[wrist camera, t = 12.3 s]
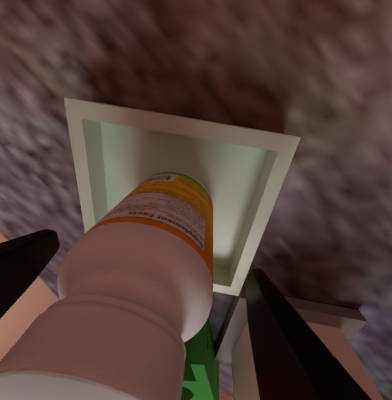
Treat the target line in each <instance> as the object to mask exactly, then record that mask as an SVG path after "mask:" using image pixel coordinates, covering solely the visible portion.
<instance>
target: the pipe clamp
mask: <svg viewBox="0 0 392 400" xmlns="http://www.w3.org/2000/svg"><path fill="white" fill-rule="evenodd" d="M184 344H185V348H186V358H185V362H184V364H185V365H184V376H183V385H182V394H181V400H219V365H218V361H217V360H215V347H214V343H213V339H212V334H211V330H210V325H209V321H208V319H207V320H206V322H205V324H204V325H203V327H202V328H201V329H200V330H199V331H198V332H197V333H196V334H195V335H194V336H193V337H192V338H191V339H189V340H188V341H186V342H184Z"/></svg>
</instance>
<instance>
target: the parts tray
mask: <svg viewBox="0 0 392 400" xmlns="http://www.w3.org/2000/svg"><path fill="white" fill-rule="evenodd" d="M64 102H65V109H66V115H67V121H68V128H69V134H70V140H71V147H72V153H73V159H74V165H75V172H76V178H77V184H78V191H79V197H80V203H81V210H82V216H83V222H84V228H85V233H86V232H87V231H88V230H90V229H91V228H92V227H93V226H94V225H95V224H96V223H97V222H99V221H100V220H101V219H102V218H103V217H104V216H105V215H106V214H107V213H109V212H110V211H111V210H112V209H113V208H114V207H115V206H116V205H117V204H119V203H120V202H121V201H122V200H123V199H124V198H125V197H126V196H127V195H128V194H129V193H131V192H132V191H133V190H134V189H135V188H136V187H137V186H138V185H139V184H141V183H142V182H143V181H144V180H145V179H147V178H148V177H150V176H151V175H153V174H155V173H158V172H161V171H180V172H184V173H187V174H189V175H191V176H193V177H194V178H196V179H197V180H199V181H200V182H201V183H202V184H203V185H204V187H205V188H206V189H207V191H208V192H209V194H210V197H211V199H212V203H213V291H214V292H220V293H225V294H230V295H235V296H239V293H240V291H241V288H242V286H243V283H244V281H245V278H246V276H247V273H248V271H249V268H250V265H251V263H252V260H253V258H254V255H255V253H256V250H257V248H258V245H259V243H260V240H261V237H262V235H263V232H264V230H265V227H266V225H267V222H268V220H269V217H270V215H271V212H272V209H273V207H274V204H275V202H276V199H277V197H278V194H279V192H280V189H281V187H282V184H283V181H284V179H285V176H286V174H287V171H288V169H289V166H290V164H291V161H292V159H293V156H294V153H295V151H296V148H297V146H298V143H299V141H300V137H296V136H292V135H288V134H284V133H278V132H272V131H266V130H260V129H254V128H248V127H242V126H236V125H230V124H224V123H218V122H213V121H207V120H201V119H195V118H189V117H183V116H177V115H171V114H165V113H159V112H153V111H147V110H141V109H135V108H129V107H123V106H117V105H111V104H105V103H100V102H94V101H86V100H78V99H70V98H64Z"/></svg>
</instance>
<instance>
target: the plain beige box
mask: <svg viewBox="0 0 392 400" xmlns="http://www.w3.org/2000/svg"><path fill="white" fill-rule="evenodd" d="M284 297H285V298H286V299H287V300H288V302H289V303H290V304H291V305H292V306H293V308H294V309H295V310H296V311H297V312H298V313H299V315H300V316H301V317H302V318H303V319H304V321H305V322H306V323H307V324H308V325H309V327H310V328H311V329H312V330H313V331H314V333H315V334H316V335H317V336H318V337H319V339H320V340H321V341H322V342H323V343H324V344H325V346H326V347H327V348H328V349H329V350H330V352H331V353H332V355H333V356H334V357H336V359H337V360H338V361H339V362H340V363H341V365H342V366H343V367H344V368H345V369H346V371H347V372H348V373H349V374H350V375H351V376H352V378H353V379H354V380H355V381H356V382H357V383H358V384H359V386H360V387H361V388H362V389H363V390H364V391H365V393H366V394H367V395H368V396H369V397H370V398H371V399H372V400H383V398H382V397H381V395H380V393H379V392H378V390H377V388H376V386H375V385H374V383H373V381H372V380H371V378H370V376H369V375H368V373H367V371H366V370H365V368H364V366H363V365H362V363H361V361H360V360H359V358H358V356H357V355H356V353H355V351H354V350H353V348H352V346H351V345H350V343H349V340H350V339H351V338H352V337H353V336H354V335H355V334H356V333H357V332H358V331H359V330H360V329H361V328H362V327H363V326H364V325H365V324H366V323H367V320H366V319H365V318H364V316H363V315H362V314H361V312H360V311H359V310H355V309H350V308H345V307H340V306H334V305H329V304H324V303H318V302H313V301H308V300H302V299H297V298H292V297H286V296H284ZM215 360H219V361H224V362H229V363H232V377H233V392H234V400H260V397H259V391H258V385H257V379H256V372H255V366H254V360H253V353H252V347H251V341H250V334H249V328H248V320H247V304H246V289H244V288H241V291H240V293H239V296H235V298H234V300H233V303H232V306H231V308H230V311H229V313H228V316H227V319H226V321H225V324H224V327H223V329H222V332H221V334H220V337H219V340H218V342H217V345H216V348H215Z"/></svg>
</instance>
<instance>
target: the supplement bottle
mask: <svg viewBox="0 0 392 400" xmlns="http://www.w3.org/2000/svg"><path fill="white" fill-rule="evenodd" d="M57 287H58V294H59V298H60V300H59V301H57V302H55V303H54V304H52V305H51V306H50V307H49V308H48V309H47V310H46V311H45V312H44V313H42V314H40V315H39V316H38V317H37V318H36V319H35V320H34V321H33V322H32V324H31V325H30V326H29V328H28V329H27V330H26V332H25V333H24V334H23V335H22V336H21V338H20V339H19V340H18V341H17V342H16V344H15V345H14V346H13V347H12V348H11V349H10V351H9V352H8V353H7V354H6V355H5V356H4V358H3V359H2V360H1V361H0V400H181V394H182V385H183V376H184V365H185V364H184V362H185V358H186V348H185V344H184V342H186V341H188V340H189V339H191V338H192V337H193V336H194V335H195V334H196V333H197V332H198V331H199V330H200V329H201V328H202V327H203V325H204V324H205V322H206V320H207V319H208V316H209V314H210V310H211V307H212V300H213V203H212V199H211V197H210V194H209V192H208V191H207V189H206V188H205V187H204V185H203V184H202V183H201V182H200V181H199V180H197V179H196V178H194V177H193V176H191V175H189V174H187V173H184V172H180V171H161V172H158V173H155V174H153V175H151V176H150V177H148V178H147V179H145V180H144V181H143V182H142V183H141V184H139V185H138V186H137V187H136V188H135V189H134V190H133V191H132V192H131V193H129V194H128V195H127V196H126V197H125V198H124V199H123V200H122V201H121V202H120V203H119V204H117V205H116V206H115V207H114V208H113V209H112V210H111V211H110V212H109V213H107V214H106V215H105V216H104V217H103V218H102V219H101V220H100V221H99V222H97V223H96V224H95V225H94V226H93V227H92V228H91V229H90V230H88V231H87V232H86V233H85V234H84V235H83V236H82V237H81V238H80V239H79V240H78V241H77V242H76V243H75V244H74V246H73V247H72V248H71V249H70V250H69V251H68V253H67V254H66V256H65V257H64V259H63V261H62V263H61V266H60V268H59V272H58V278H57Z"/></svg>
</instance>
